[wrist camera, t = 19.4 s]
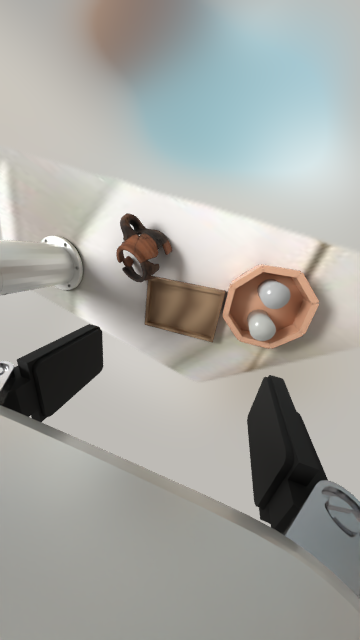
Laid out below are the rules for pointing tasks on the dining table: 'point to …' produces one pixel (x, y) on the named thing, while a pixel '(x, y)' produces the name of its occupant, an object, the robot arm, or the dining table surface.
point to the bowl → (286, 319)
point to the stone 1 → (273, 294)
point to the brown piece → (140, 247)
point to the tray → (183, 308)
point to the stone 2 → (260, 325)
